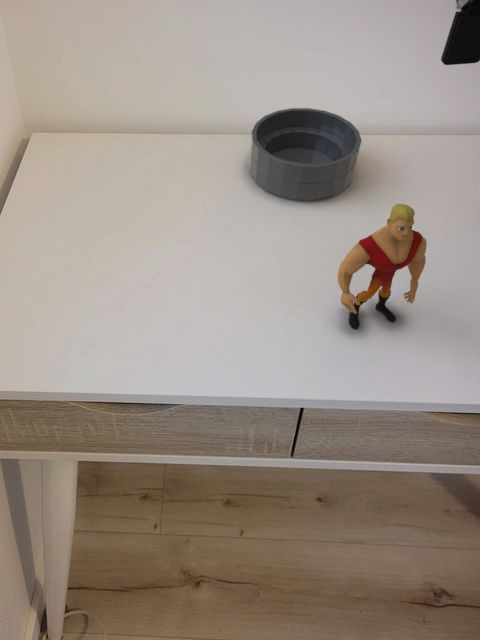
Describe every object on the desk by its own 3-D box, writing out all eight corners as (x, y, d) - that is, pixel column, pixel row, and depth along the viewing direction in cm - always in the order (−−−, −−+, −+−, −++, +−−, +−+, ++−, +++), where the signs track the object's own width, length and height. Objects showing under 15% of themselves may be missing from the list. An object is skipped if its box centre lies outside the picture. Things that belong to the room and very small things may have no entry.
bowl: (282, 133, 91) (287, 97, 87) (370, 165, 85) (379, 129, 81) (229, 178, 84) (231, 142, 80) (320, 216, 78) (327, 179, 74)
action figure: (335, 337, 65) (366, 225, 54) (322, 313, 67) (350, 201, 56) (417, 321, 66) (464, 209, 55) (402, 299, 69) (444, 186, 57)
